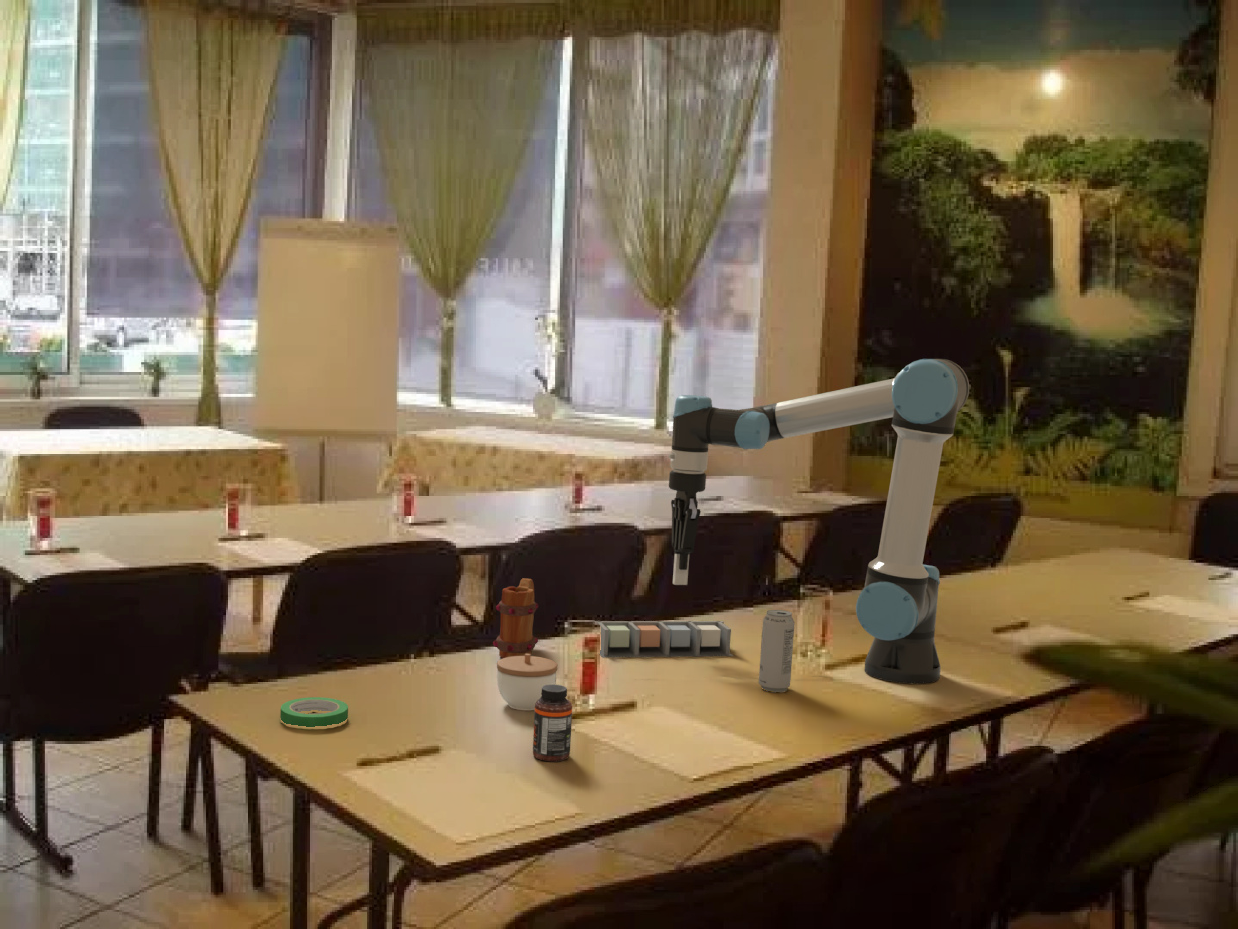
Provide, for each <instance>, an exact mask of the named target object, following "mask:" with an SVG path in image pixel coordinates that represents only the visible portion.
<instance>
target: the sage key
mask: <svg viewBox="0 0 1238 929" xmlns="http://www.w3.org/2000/svg"><path fill="white" fill-rule="evenodd" d="M606 628H607V629H608V630H609V636H608V646H609V647H629V636H630V630H629V629H628V628H627V627H626V626H606Z"/></svg>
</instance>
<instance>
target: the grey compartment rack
mask: <svg viewBox="0 0 1238 929" xmlns="http://www.w3.org/2000/svg"><path fill="white" fill-rule="evenodd" d="M594 622H597V623H598V624H599V625H600V626H601V650H600V655H599V656H600V657H601V658H679V657H680V658H681V657H682V658H683V657H684V658H687V657H691V658H692V657H703V658H704V657H735V655H734V654H732V653H731V652H730V650H731V636H732V628H730V627H728V626H727V625H726V624H724V622H725V621H723V620H675V621H673V620H667V621H666V620H659V621H658V620H655V621H654V620H653V621H652V620H645V621H644V620H642V621H641V620H639V621H638V620H636V621H634V620H631V621H630V620H629V621H627V620H626V621H623V620H621V621H620V620H619V621H616V620H615V621H611V620H610V621H609V620H607V621H605V620H604V621H603V620H602V621H601V620H600V621H599V620H598V621H597V620H596V621H593V623H594ZM651 625H655V626H656V627H658V628H659V629H660V646H659V647H640V646H639V637H640V629H639V628H637V626H651ZM667 625H685V626H687V627H688V628H689V629H690V630H691V635H690V647H671V646H670V632H671V629H669V628H668V627H667ZM697 625H715V626H716V627H718V628H719V629H720V630H721V634H720V646H700V638H701V629H700V628H699V627H697ZM606 626H626V627H627V628H628V629H629V630H630V636H629V647H609V646H608V636H609V630H608V629H607V628H606Z"/></svg>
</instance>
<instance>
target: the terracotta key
mask: <svg viewBox="0 0 1238 929" xmlns="http://www.w3.org/2000/svg"><path fill="white" fill-rule="evenodd" d="M637 628H639V629H640V637H639V646H640V647H659V646H660V629H659V628H658V627H656V626H655V625H651V626H637Z"/></svg>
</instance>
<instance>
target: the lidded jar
mask: <svg viewBox="0 0 1238 929" xmlns="http://www.w3.org/2000/svg"><path fill="white" fill-rule="evenodd" d="M496 669H497V670H496V671H497V672H496V673H497V674H496V679H497V681H496V682H497V688H498V692H499V694H500V696H501V697H502V699H503V701H505V703H507V706H508V707H509V708H510V709H512V710H516V711H535V703H536V701H537V700H539V699H540V698H541V696H542V695H541V693H542V687H543V686H545V685H556V682H557V671H558V663H557V662H556V661H554V660H552V659H549V658H545V657H541V656H534V655H532V653H531V654H525V656H512V657H507V658H501V659H498V661H497V662H496Z"/></svg>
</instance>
